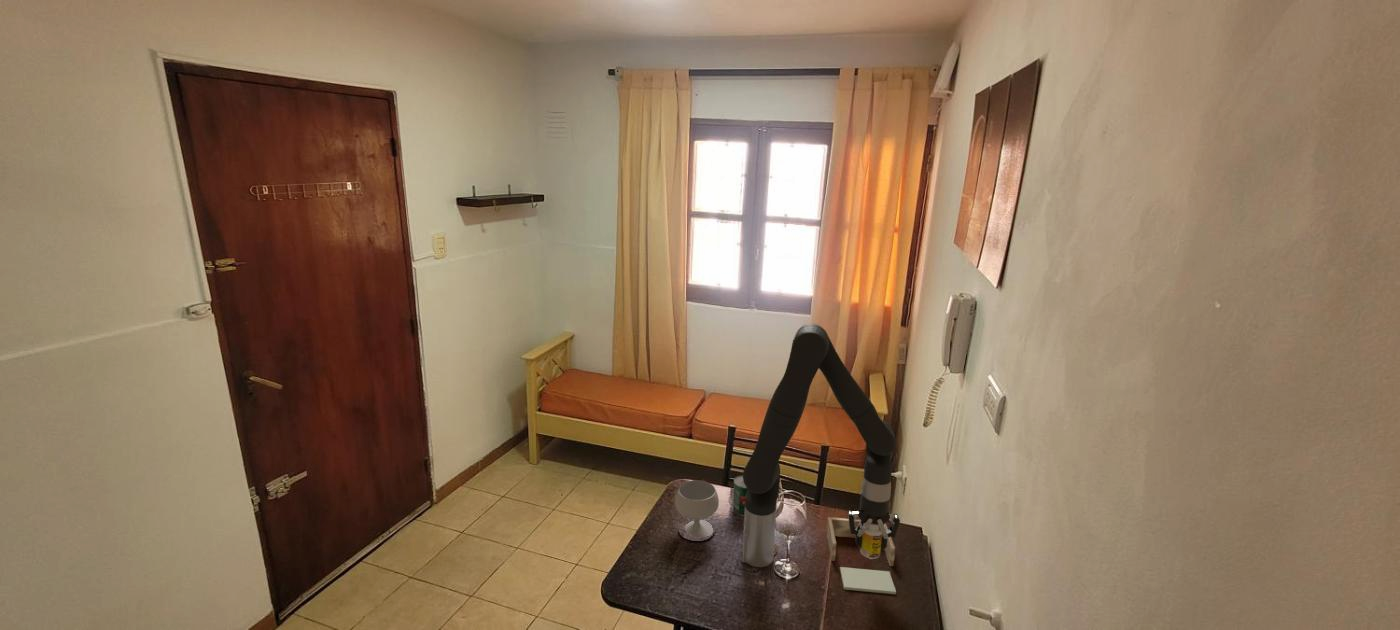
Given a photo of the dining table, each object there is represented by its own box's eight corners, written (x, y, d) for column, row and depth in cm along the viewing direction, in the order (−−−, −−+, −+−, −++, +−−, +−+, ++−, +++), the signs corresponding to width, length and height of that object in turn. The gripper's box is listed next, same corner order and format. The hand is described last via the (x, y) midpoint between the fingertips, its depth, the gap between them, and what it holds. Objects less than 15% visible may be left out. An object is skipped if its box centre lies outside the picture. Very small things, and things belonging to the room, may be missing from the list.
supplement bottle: (871, 562, 143) (874, 529, 141) (855, 551, 148) (858, 519, 145) (884, 555, 146) (887, 522, 144) (868, 544, 151) (871, 512, 148)
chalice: (718, 545, 163) (719, 502, 160) (673, 544, 163) (673, 501, 160) (717, 518, 177) (718, 478, 174) (676, 517, 177) (676, 477, 174)
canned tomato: (740, 500, 187) (741, 472, 185) (759, 508, 183) (761, 480, 180) (728, 511, 181) (729, 482, 179) (748, 519, 177) (749, 490, 174)
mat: (844, 589, 146) (844, 586, 146) (839, 569, 154) (840, 566, 154) (895, 594, 144) (896, 591, 144) (889, 573, 152) (889, 571, 152)
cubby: (831, 560, 157) (832, 543, 156) (826, 533, 170) (827, 517, 169) (893, 566, 155) (895, 548, 154) (883, 538, 168) (885, 521, 167)
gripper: (850, 498, 140) (846, 553, 144) (906, 503, 138) (900, 558, 142) (846, 483, 147) (842, 536, 151) (899, 487, 145) (893, 540, 149)
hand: (870, 546), depth 146 cm, fingers closed on supplement bottle, 5 cm apart
